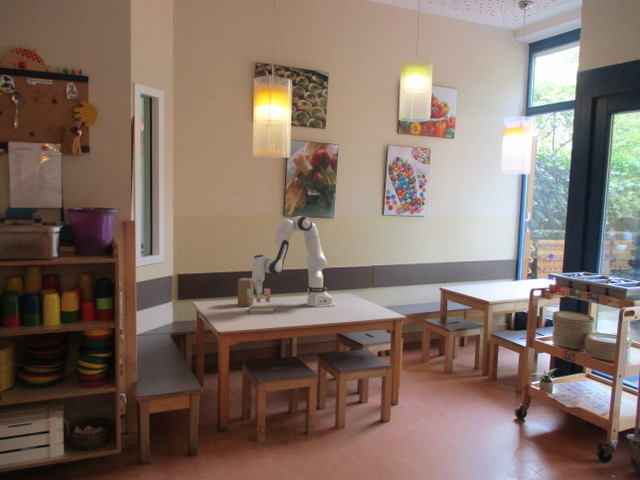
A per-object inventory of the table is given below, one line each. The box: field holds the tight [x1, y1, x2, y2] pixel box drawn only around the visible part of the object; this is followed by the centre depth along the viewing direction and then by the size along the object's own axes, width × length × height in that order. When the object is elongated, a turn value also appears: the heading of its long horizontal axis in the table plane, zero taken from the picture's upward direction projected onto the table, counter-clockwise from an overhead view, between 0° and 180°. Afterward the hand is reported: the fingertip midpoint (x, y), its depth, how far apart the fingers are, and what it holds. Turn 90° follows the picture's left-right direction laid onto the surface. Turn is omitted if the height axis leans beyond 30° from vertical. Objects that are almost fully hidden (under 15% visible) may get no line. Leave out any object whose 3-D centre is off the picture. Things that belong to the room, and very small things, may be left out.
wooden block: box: [237, 277, 254, 307], centre depth 370 cm, size 10×10×20 cm
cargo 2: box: [263, 288, 271, 296], centre depth 350 cm, size 4×4×4 cm
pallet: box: [247, 293, 271, 303], centre depth 349 cm, size 16×6×5 cm, turn 103°
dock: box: [248, 304, 274, 315], centre depth 350 cm, size 16×12×3 cm
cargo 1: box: [247, 288, 254, 295], centre depth 347 cm, size 4×4×4 cm
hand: (258, 296), depth 349 cm, fingers closed on pallet, 5 cm apart
